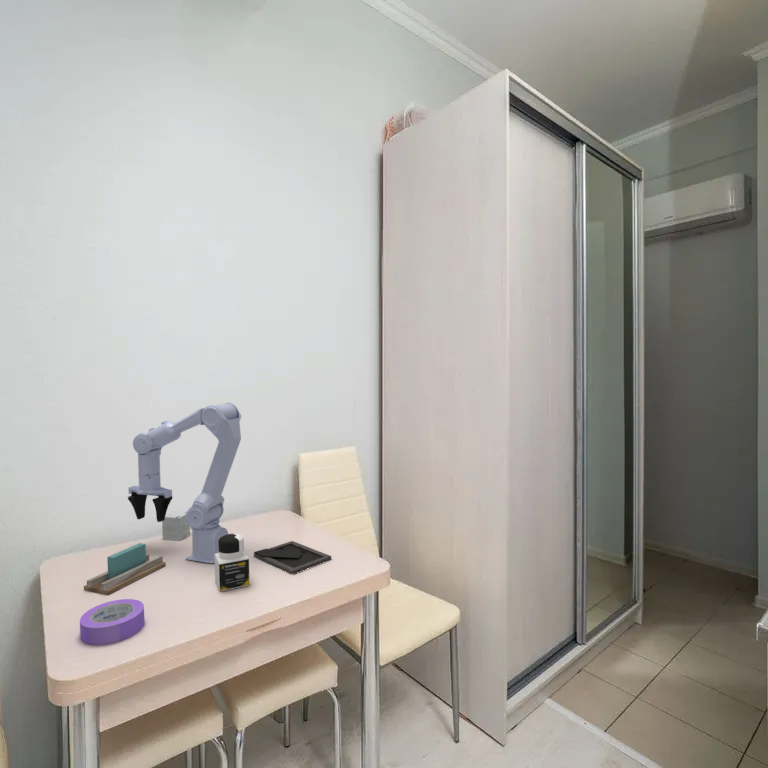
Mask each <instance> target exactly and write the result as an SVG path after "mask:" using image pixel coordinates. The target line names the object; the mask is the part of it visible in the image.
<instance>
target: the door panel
mask: <svg viewBox="0 0 768 768" xmlns="http://www.w3.org/2000/svg"><path fill="white" fill-rule="evenodd" d="M146 545H147V544H146V543H141V542H139V543H137V544H134V545H132V546H130V547H128V548H126V549H125V548H124V549H123V550H120V551H118V552H115V553H113V554H111V555H109V556H107V557H106V560H107V571H108V580H109V579H112V578H114V577H116V576H118V575H120V574H122V573H124V572H126V571H128V570H130V569H133V568H135V567H137V566H139V565H141V564H143V563H145V562H146V554H147V552H146V551H147V548H146Z"/></svg>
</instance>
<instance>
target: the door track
mask: <svg viewBox="0 0 768 768" xmlns="http://www.w3.org/2000/svg"><path fill="white" fill-rule="evenodd" d="M166 565H167V562H165V561H164V560H163V556H161V555H158V556H156V557H154V558H151V559H150V553H146V562H145V563H143V564H141V565H139V566H137V567H135V568H133V569H130V570H128V571H126V572H124V573H122V574H120V575H118V576H116V577H114V578H112V579H109V580H108V570H107V571H105V572H103V573H101V574H98V575H96V576H94V577H92V578H89V579H87V580H86V584H85V585H84V586H83V591H85V592H92V593H95V594H101V595H106V596H110V595H112V594H114V593H115V592H118V591H120V590H121V589H124V588H126V587H128V586H130V585H131V584H133V583H135V582H137V581H139V580H142V579H143V578H145V577H147V576H149V575H151V574H152V573H154V572H156V571H159V570H161V569H162V568H165V567H166Z"/></svg>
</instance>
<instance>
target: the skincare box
mask: <svg viewBox="0 0 768 768" xmlns="http://www.w3.org/2000/svg"><path fill="white" fill-rule="evenodd" d="M186 513H187V511H186V512H185V511H171V512H169V513H168V514H166V515H165V520H164V521H161V526H162V528H161V529H162V530H161V531H162V540H163V541H177V542H179V541H182V540H183V539H185V538H186V537H188V536H189V535H191V527H190V526H189V524H188V523H187V520H186Z"/></svg>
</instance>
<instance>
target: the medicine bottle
mask: <svg viewBox="0 0 768 768" xmlns="http://www.w3.org/2000/svg"><path fill="white" fill-rule="evenodd" d="M218 546H219V553H216V554H215V563H214V580H215V584H216V585H217V589H218V590H219V592H220V591H222V592H226V591H230V589H231V590H235V588H236V589H240V587H241V588H244V587H249V586H250V558H249V556H248V554H247V553H246V552H245V537H244V536H243V535H242V534H239V533H228V534H227V535H224V536H222V537H220V539H219V540H218ZM225 590H226V591H225Z"/></svg>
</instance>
